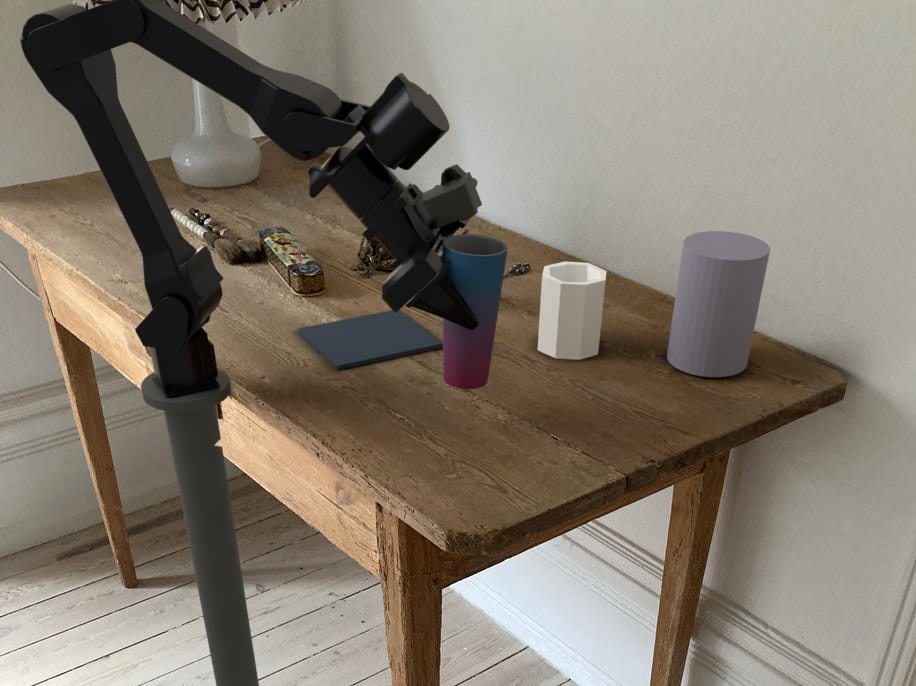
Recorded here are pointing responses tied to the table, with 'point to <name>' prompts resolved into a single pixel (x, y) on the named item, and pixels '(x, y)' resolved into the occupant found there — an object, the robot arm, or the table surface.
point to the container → (716, 303)
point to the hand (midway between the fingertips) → (481, 315)
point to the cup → (473, 307)
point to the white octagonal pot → (571, 310)
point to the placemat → (368, 339)
